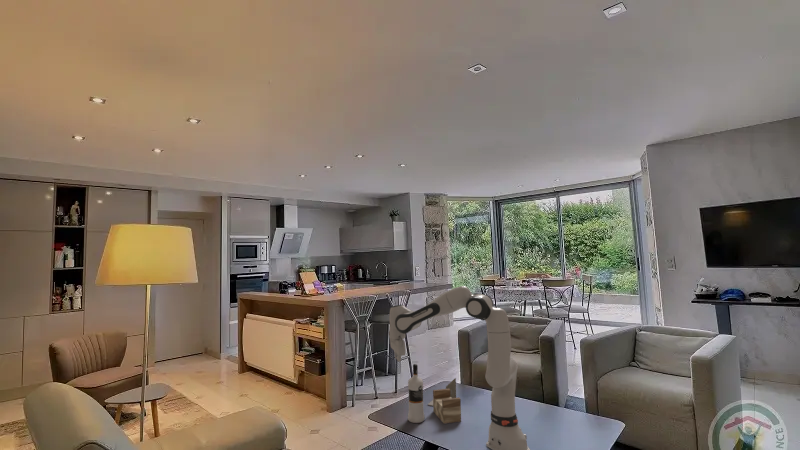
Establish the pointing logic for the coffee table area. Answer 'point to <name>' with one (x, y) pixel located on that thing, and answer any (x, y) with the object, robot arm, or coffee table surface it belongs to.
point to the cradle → (446, 406)
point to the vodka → (415, 397)
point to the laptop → (452, 390)
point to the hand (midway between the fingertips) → (397, 360)
